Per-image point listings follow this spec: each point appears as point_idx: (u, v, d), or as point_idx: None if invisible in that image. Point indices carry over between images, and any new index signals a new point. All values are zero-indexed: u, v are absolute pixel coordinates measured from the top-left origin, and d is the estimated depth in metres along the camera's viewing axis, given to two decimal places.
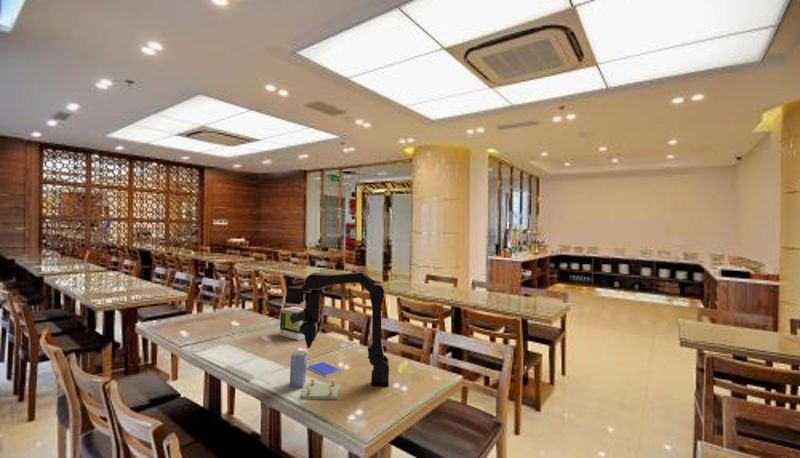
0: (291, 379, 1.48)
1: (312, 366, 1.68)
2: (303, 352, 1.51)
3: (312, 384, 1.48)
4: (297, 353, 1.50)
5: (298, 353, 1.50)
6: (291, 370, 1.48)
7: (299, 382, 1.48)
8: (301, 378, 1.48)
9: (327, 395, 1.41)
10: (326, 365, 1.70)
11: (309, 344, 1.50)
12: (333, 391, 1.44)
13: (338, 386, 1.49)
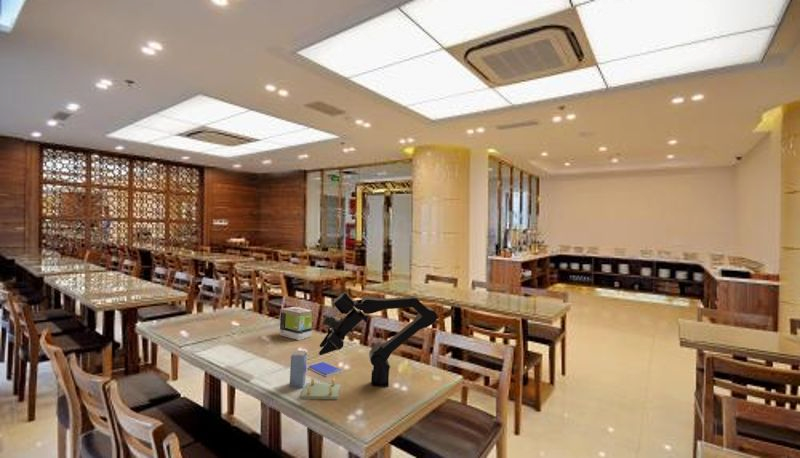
0: (291, 379, 1.48)
1: (312, 366, 1.68)
2: (303, 352, 1.51)
3: (312, 384, 1.48)
4: (297, 353, 1.49)
5: (298, 353, 1.50)
6: (291, 370, 1.48)
7: (299, 382, 1.48)
8: (301, 378, 1.48)
9: (327, 395, 1.41)
10: (326, 365, 1.70)
11: (323, 352, 1.47)
12: (333, 391, 1.44)
13: (338, 386, 1.49)
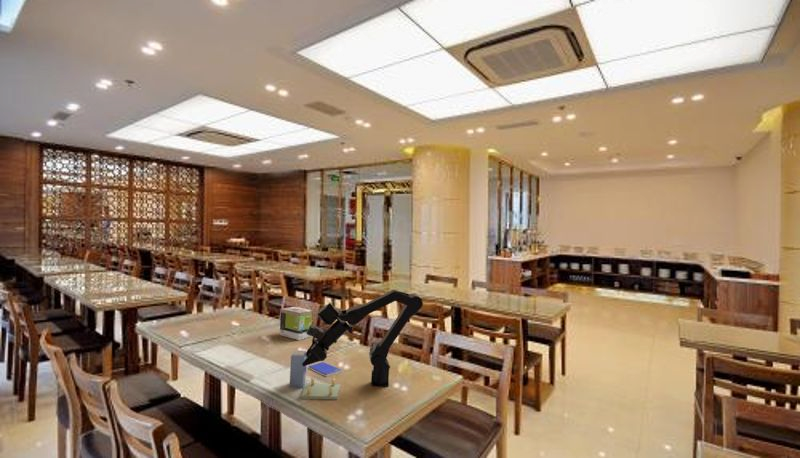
0: (291, 379, 1.48)
1: (312, 366, 1.68)
2: (303, 352, 1.51)
3: (312, 384, 1.48)
4: (297, 353, 1.49)
5: (298, 353, 1.50)
6: (291, 370, 1.48)
7: (299, 382, 1.48)
8: (301, 378, 1.48)
9: (327, 395, 1.41)
10: (326, 365, 1.70)
11: (306, 363, 1.46)
12: (333, 391, 1.44)
13: (338, 386, 1.49)
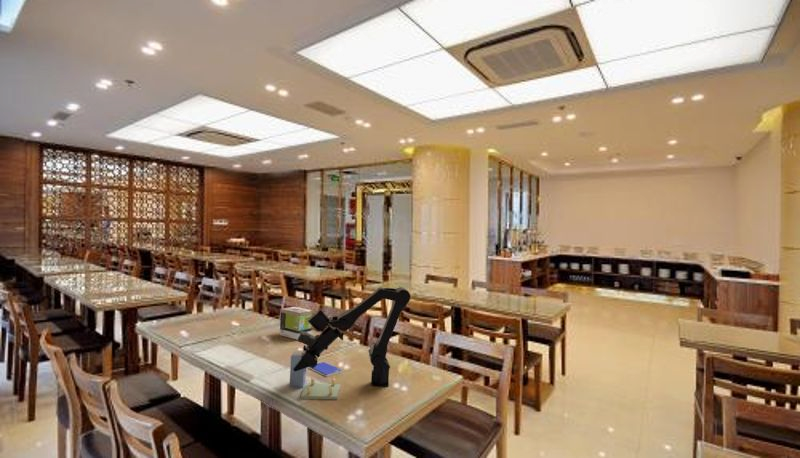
0: (291, 379, 1.48)
1: None
2: (303, 352, 1.51)
3: (312, 384, 1.48)
4: (297, 353, 1.49)
5: (298, 353, 1.49)
6: (291, 370, 1.48)
7: (299, 382, 1.48)
8: (301, 378, 1.48)
9: (327, 395, 1.41)
10: (327, 365, 1.70)
11: (297, 369, 1.47)
12: (333, 391, 1.44)
13: (338, 386, 1.49)
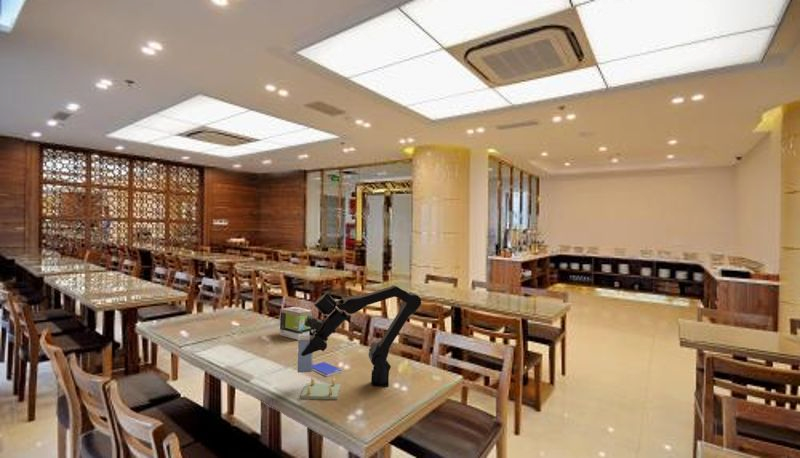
0: (299, 364, 1.46)
1: (313, 366, 1.68)
2: (310, 336, 1.49)
3: (312, 384, 1.48)
4: (304, 337, 1.47)
5: (305, 337, 1.47)
6: (299, 355, 1.46)
7: (307, 367, 1.47)
8: (309, 362, 1.47)
9: (327, 395, 1.41)
10: (327, 365, 1.70)
11: (305, 353, 1.45)
12: (333, 391, 1.44)
13: (338, 386, 1.49)
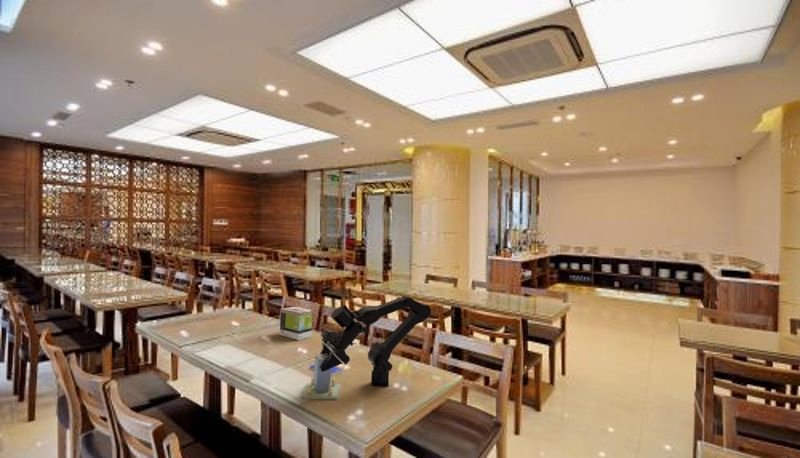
0: (318, 384, 1.42)
1: (314, 366, 1.68)
2: (327, 355, 1.46)
3: (312, 384, 1.48)
4: (322, 357, 1.44)
5: (323, 357, 1.44)
6: (318, 375, 1.42)
7: (326, 386, 1.43)
8: (328, 382, 1.44)
9: (327, 395, 1.41)
10: None
11: (325, 368, 1.41)
12: (333, 391, 1.44)
13: (338, 386, 1.49)
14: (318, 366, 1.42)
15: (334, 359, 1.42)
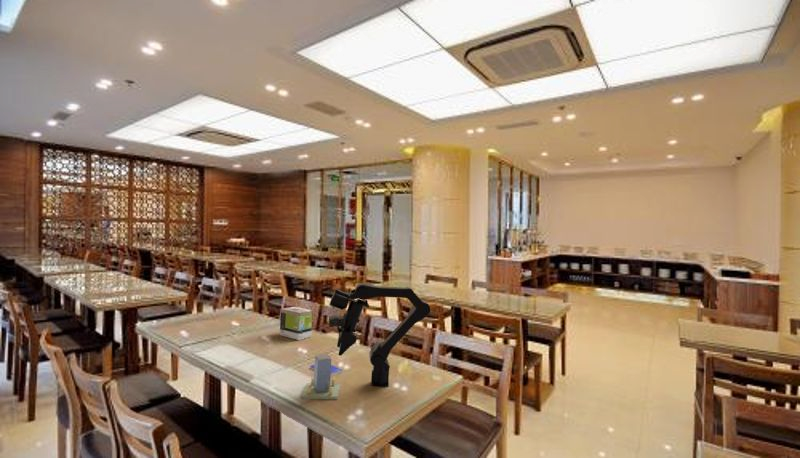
0: (318, 384, 1.42)
1: (314, 366, 1.69)
2: (327, 355, 1.46)
3: (312, 384, 1.48)
4: (322, 357, 1.44)
5: (323, 357, 1.44)
6: (318, 375, 1.42)
7: (326, 386, 1.43)
8: (328, 382, 1.44)
9: (327, 395, 1.41)
10: None
11: (342, 352, 1.49)
12: (333, 391, 1.44)
13: (338, 386, 1.49)
14: (318, 366, 1.42)
15: (345, 342, 1.48)
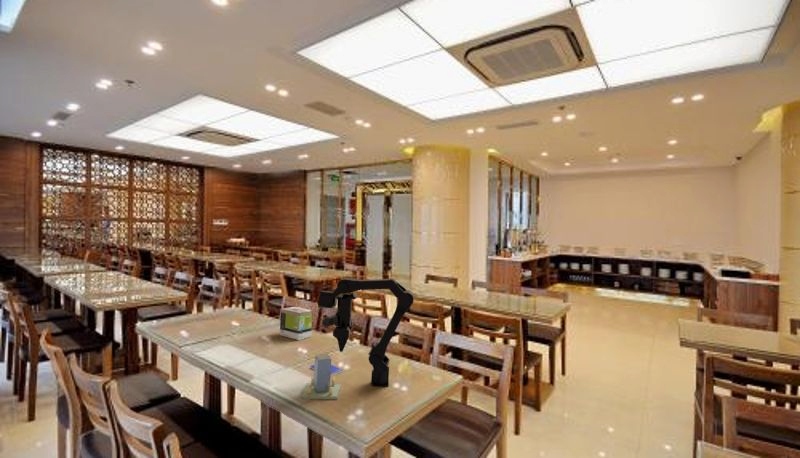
0: (318, 384, 1.42)
1: (314, 366, 1.69)
2: (327, 355, 1.46)
3: (312, 384, 1.48)
4: (322, 357, 1.44)
5: (323, 357, 1.44)
6: (318, 375, 1.42)
7: (326, 386, 1.43)
8: (328, 382, 1.44)
9: (327, 395, 1.41)
10: None
11: (342, 348, 1.52)
12: (333, 391, 1.44)
13: (338, 386, 1.49)
14: (318, 366, 1.42)
15: (342, 337, 1.52)
